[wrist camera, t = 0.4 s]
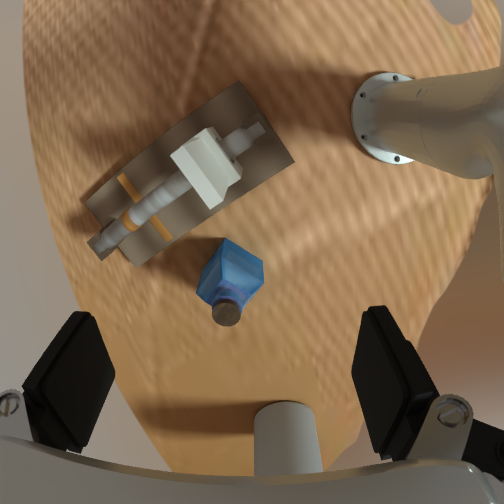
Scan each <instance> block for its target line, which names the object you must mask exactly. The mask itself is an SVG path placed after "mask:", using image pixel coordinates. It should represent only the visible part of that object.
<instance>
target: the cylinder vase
mask: <svg viewBox="0 0 504 504" xmlns="http://www.w3.org/2000/svg"><path fill="white" fill-rule="evenodd" d="M318 472H323V468H322V462H321V456H320V450H319V443H318V437H317V431H316V425H315V419H314V414H313V412H312V410H311V409H310V408H309V407H308V406H306V405H304V404H301V403H298V402H290V401H285V402H277V403H273V404H270V405H268V406H266V407H264V408H262V409H261V410H260V411H259V412H258V413H257V414H256V416H255V418H254V476H279V475H296V474H308V473H318Z"/></svg>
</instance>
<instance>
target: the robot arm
mask: <svg viewBox="0 0 504 504" xmlns="http://www.w3.org/2000/svg"><path fill="white" fill-rule="evenodd" d="M393 77H394V80H393ZM360 94H362V95H363V96H362V97H360ZM351 123H352V127H353V131H354V134H355V136H356V138H357V140H358V142H359V143H360V144H361V146H362V147H363V148H364V149H365V150H366V151H367V152H368V153H369V154H370V155H371V156H373V157H375V158H376V159H378V160H380V161H383V162H386V163H389V164H395V165H400V164H407V163H409V162H412V161H414V160H415V161H418V162H421V163H424V164H426V165H429V166H432V167H435V168H437V169H440V170H442V171H445V172H448V173H450V174H453V175H455V176H458V177H461V178H465V179H480V178H485V177H487V176H490V175H492V174H493V173H494V179H495V185H496V194H497V199H498V206H499V220H500V243H501V244H500V246H501V247H500V248H501V270H502V277H503V280H504V65H503V66H499V67H496V68H492V69H488V70H483V71H478V72H471V73H464V74H454V75H445V76H437V77H429V78H421V79H414V80H413V79H411V78H409V77H407V76H406V75H403V74H399V73H393V72H387V73H380V74H377V75H374V76H372V77H370V78H368V79H367V80H366V81H365V82H363V83H362V84H361V86H360V87H359V88H358V90H357V91H356V93H355V95H354V97H353V101H352V105H351ZM362 135H364V138H363V139H362V138H361V136H362ZM395 157H396V159H395V160H394V158H395ZM351 372H352V379H353V382H354V385H355V388H356V392H357V395H358V398H359V401H360V405H361V408H362V411H363V415H364V418H365V421H366V425H367V428H368V432H369V435H370V439H371V443H372V446H373V450H374V452H375V453H379V454H380V457H381V460H386V459H390V458H392V460H393V462H388V463H382V464H375V465H370V466H364V467H358V468H351V469H344V470H336V471H327V472H318V473H308V474H296V475H279V476H215V475H198V474H186V473H175V472H166V471H159V470H151V469H144V468H138V467H132V466H126V465H121V464H116V463H111V462H106V461H102V460H97V459H93V458H89V457H85V456H81V455H77V454H74V453H70V452H66V450H67V449H68V450H69V451H72V452H76V453H81V452H82V449H83V447H86V446H87V444H88V442H89V439H90V437H91V434H92V431H93V429H94V426H95V424H96V421H97V419H98V416H99V414H100V412H101V409H102V407H103V404H104V402H105V400H106V397H107V395H108V392H109V390H110V388H111V385H112V383H113V381H114V378H115V369H114V367H113V364H112V362H111V359H110V357H109V354H108V352H107V349H106V347H105V344H104V342H103V339H102V336H101V333H100V331H99V328H98V325H97V322H96V320H95V318H94V316H91V314H90V313H89V312H81V311H75V312H73V313H72V315H71V316H70V317H69V319H68V320H67V321H66V323H65V324H64V325H63V327H62V328H61V330H60V331H59V332H58V333H57V335H56V336H55V338H54V339H53V340H52V342H51V343H50V345H49V346H48V348H47V349H46V350H45V352H44V353H43V355H42V356H41V358H40V359H39V361H38V362H37V363H36V365H35V366H34V368H33V370H32V371H31V373H30V374H29V376H28V377H27V379H26V380H25V382H24V383H23V385H22V388H23V389H24V392H23V394H22V393H20V391H17V390H13V389H10V390H6V391H4V392H2V393H0V504H504V430H501V429H498V428H496V427H493V426H490V425H488V424H485V423H483V422H480V421H478V420H475V419H473V409H472V407H471V405H470V404H469V402H468V401H466V400H465V399H464V398H462V397H460V396H458V395H454V394H444V395H442V396H440V395H439V393H438V391H437V389H436V387H435V385H434V383H433V381H432V379H431V377H430V376H429V374H428V372H427V370H426V368H425V366H424V364H423V363H422V361H421V359H420V357H419V356H418V354H417V352H416V350H415V348H414V347H413V345H412V343H411V342H410V341H408V340H406V339H405V337H404V336H403V334H402V332H401V330H400V329H399V327H398V325H397V323H396V322H395V320H394V318H393V317H392V315H391V313H390V312H389V310H388V308H387V307H386V306H385V305H382V306H370V307H369V308H368V310H367V311H364V312H363V314H362V319H361V325H360V330H359V335H358V340H357V345H356V350H355V355H354V360H353V364H352V370H351Z"/></svg>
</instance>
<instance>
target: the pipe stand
mask: <svg viewBox="0 0 504 504" xmlns="http://www.w3.org/2000/svg"><path fill="white" fill-rule="evenodd" d="M209 127H214V129H215V130H216V132H217V133H218V134H219V136H220V137H221V139H222V140H220V141H219V142H218V143H219V145H220V146H221V148H222V149H223V150H224V152H225V153H226V155H227V156H228V157H229V159H230V160H232V159H234V158H236V160H237V161H238V163H239V164H240V165H241V167H242V168H243V170H242V176H241V179H240V180H238V181H237V182H235V183H234V184H232V185H231V186H229V187H228V188H227V191H226V194H225V197H224V200H223V201H222V202H221V203H219V204H218V205H216V206H215V207H213V208H212V209H209V208H208V206H207V205H206V204H205V202H204V201H203V200H202V198H201V197H200V196H199V194H198V193H197V191H196V190H195V189H194V187H193V186H192V185H191V183H190V182H189V181H188V179H187V178H186V177H185V175H184V174H183V173H182V171H181V170H180V168H179V167H178V166H177V164H176V163H175V162H174V160H173V159H172V158H171V156H170V155H171V154H172V153H174V152H175V151H176V150H178V149H179V148H180V146H182V145H183V144H184V143H186V142H187V141H188V140H190V139H191V138H193V137H194V136H195V135H197V134H198V133H200V132H201V131H202V130H204V129H205V128H209ZM294 162H295V161H294V160H293V158H292V157H291V155H290V154H289V152H288V150H287V149H286V147H285V146H284V144H283V143H282V141H281V140H280V138H279V137H278V135H277V134H276V132H275V131H274V129H273V128H272V126H271V125H270V123H269V122H268V121H267V119H266V118H265V116H264V115H263V113H262V112H261V110H260V109H259V108H258V106H257V105H256V103H255V102H254V100H253V99H252V98H251V96H250V95H249V93H248V92H247V91H246V89H245V88H244V87H243V85H242V84H241V82H240V81H238V82H236V83H235V84H233V85H232V86H230V87H229V88H227V89H226V90H224V91H223V92H221V93H220V94H218V95H217V96H215V97H214V98H212V99H211V100H209V101H208V102H206V103H205V104H204V105H202V106H201V107H199V108H198V109H196V110H195V111H194V112H192V113H191V114H190V115H188V116H187V117H185V118H184V119H183V120H181V121H180V122H179V123H177V124H176V125H175V126H173V127H172V128H171V129H169V130H168V131H167V132H166V133H164V134H163V135H162V136H160V137H159V138H158V139H157V140H155V141H154V142H153V143H152V144H150V145H149V146H148V147H147V148H145V149H144V150H143V151H142V152H141V153H139V154H138V155H137V156H136V157H135V158H133V159H132V160H131V161H130V162H129V163H128V164H126V165H125V166H124V167H123V168H122V169H121V170H120V171H118V172H117V173H116V174H115V175H114V176H113V177H112V178H111V179H110V180H108V181H107V182H106V183H105V184H104V185H103V186H102V187H101V188H100V189H99V190H98V191H97V192H95V193H94V194H93V195H92V196H91V197H90V198H89V199H88V200H87V201H86V202H85V204H86V205H87V207H88V208H89V209H90V211H91V212H92V213H93V215H94V216H95V217H96V219H97V220H98V221H99V223H100V224H101V225H102V227H103V228H102V229H101V230H100V231H99V232H98V233H97V234H96V235H94V236H93V237H92V238H91V239H90V240H89V241H88V242H87V244H88V245H89V246H90V247H91V249H92V250H93V251H94V252H95V254H96V255H97V256H98V257H99V259H100V260H101V261H102V260H104V259H105V258H106V257H107V256H108V255H110V254H111V253H112V252H113V251H114V250H115V249H116V248H117V246H118V247H119V248H120V249H121V250H122V252H123V253H124V254H125V255H126V256H127V258H128V259H129V260H130V261H131V263H132V264H133V265H134V266H135V267H136V268H138V267H139V266H140V265H142V264H143V263H145V262H146V261H147V260H149V259H150V258H152V257H153V256H154V255H156V254H157V253H159V252H160V251H161V250H163V249H164V248H166V247H167V246H168V245H170V244H171V243H173V242H174V241H176V240H177V239H178V238H180V237H181V236H183V235H184V234H186V233H187V232H189V231H190V230H192V229H193V228H194V227H196V226H197V225H199V224H200V223H202V222H203V221H205V220H206V219H208V218H209V217H211V216H212V215H214V214H215V213H217V212H218V211H220V210H221V209H223V208H224V207H226V206H227V205H229V204H230V203H232V202H233V201H235V200H236V199H238V198H239V197H241V196H242V195H244V194H245V193H247V192H248V191H250V190H252V189H253V188H255V187H256V186H258V185H259V184H261V183H262V182H264V181H266V180H267V179H269V178H270V177H272V176H273V175H275V174H277V173H278V172H280V171H281V170H283V169H285V168H286V167H288V166H289V165H291V164H293V163H294Z"/></svg>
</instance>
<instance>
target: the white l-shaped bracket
mask: <svg viewBox="0 0 504 504" xmlns="http://www.w3.org/2000/svg"><path fill="white" fill-rule="evenodd" d="M220 140H222V139H221V137H220V136H219V134H218V133H217V132H216V130H215V129H214V127H209V128H205V129H204V130H202V131H201V132H200V133H198V134H197V135H195V136H194V137H193V138H191V139H190V140H188V141H187V142H186V143H184V144H183V145H182V146H180V148H179V149H178V150H176V151H175V152H174V153H172V154H171V155H170V156H171V158H172V159H173V160H174V162H175V163H176V164H177V166H178V167H179V168H180V170H181V171H182V173H183V174H184V175H185V177H186V178H187V179H188V181H189V182H190V183H191V185H192V186H193V187H194V189H195V190H196V191H197V193H198V194H199V196H200V197H201V198H202V200H203V201H204V202H205V204H206V205H207V206H208V208H209V209H212V208H213V207H215V206H216V205H218V204H219V203H221V202H222V201H223V200H224V197H225V194H226V191H227V188H228V187H229V186H231V185H232V184H234V183H235V182H237V181H238V180H240V179H241V176H242V170H243V168H242V167H241V165H240V164H239V163H238V161H237V160H236V158H234V159H232V160H230V159H229V157H228V156H227V155H226V153H225V152H224V150H223V149H222V148H221V146H220V145H219V143H218V142H219V141H220Z"/></svg>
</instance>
